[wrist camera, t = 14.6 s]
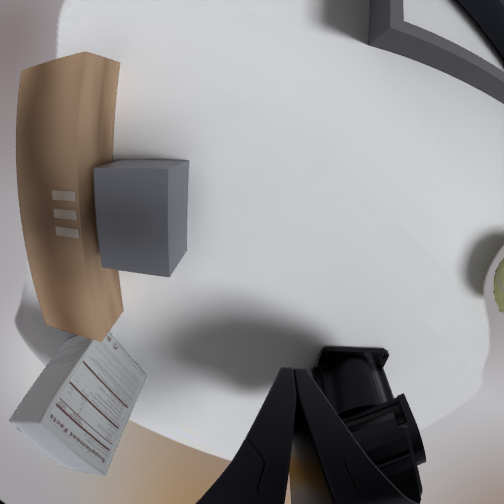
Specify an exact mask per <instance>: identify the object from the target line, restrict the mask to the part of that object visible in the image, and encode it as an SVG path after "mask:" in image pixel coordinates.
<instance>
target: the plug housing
mask: <svg viewBox="0 0 504 504" xmlns="http://www.w3.org/2000/svg"><path fill="white" fill-rule="evenodd" d="M188 173H189V161H186V160H155V159H124V160H120V161H116V162H113V163H109V164H106V165H102V166H99V167H96V168H94V193H95V209H96V222H97V232H98V242H99V250H100V258H101V265H102V268H109V269H115V270H122V271H129V272H135V273H142V274H149V275H157V276H164V277H170V276H171V274H172V273H173V271H174V269H175V268H176V266H177V265H178V263H179V262H180V260H181V259H182V257H183V256H184V254H185V253H186V251H187V202H188Z"/></svg>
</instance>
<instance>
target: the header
mask: <svg viewBox="0 0 504 504" xmlns="http://www.w3.org/2000/svg"><path fill="white" fill-rule="evenodd" d="M119 68H120V62H117V61H114V60H111V59H108V58H105V57H102V56H99V55H96V54H92V53H89V52H82V53H78V54H74V55H70V56H66V57H62V58H59V59H55V60H52V61H49V62H46V63H43V64H39V65H36V66H33V67H31V68H28V69H25V70H22V71H21V77H20V85H19V94H18V106H17V124H16V165H17V184H18V196H19V206H20V214H21V222H22V228H23V234H24V240H25V246H26V251H27V256H28V261H29V266H30V270H31V274H32V279H33V283H34V286H35V290H36V294H37V297H38V301H39V304H40V308H41V311H42V314H43V317H44V321H45V324H46V325H48V326H51V327H54V328H57V329H60V330H63V331H66V332H69V333H72V334H75V335H79V336H82V337H85V338H89V339H92V340H96V341H99V342H102V341H103V339H104V338H105V336H106V335H107V334H108V332H109V331H110V329H111V328H112V326H113V325H114V324H115V322H116V321H117V319H118V318H119V317H120V315H121V314H122V312H123V304H122V297H121V290H120V282H119V274H118V270H115V269H109V268H102V265H101V258H100V250H99V242H98V232H97V222H96V209H95V193H94V168H96V167H99V166H102V165H106V164H109V163H113V136H114V118H115V105H116V94H117V84H118V76H119Z"/></svg>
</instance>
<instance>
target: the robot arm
mask: <svg viewBox="0 0 504 504" xmlns="http://www.w3.org/2000/svg"><path fill="white" fill-rule="evenodd" d="M325 353H327V354H325ZM382 355H383V356H382ZM388 357H389V353H388V351H387V350H377V349H347V348H328V347H327V348H323V349H322V350H321V351H320V354H319V357H318V360H317V363H316V366H315V367H313V368H312V369H311V372H310V374H309V372H308V371H307V369H305V368H294V369H293V368H292V367H281V368H280V370H279V372H278V374H277V376H276V379H275V381H274V383H273V385H272V387H271V389H270V391H269V393H268V395H267V397H266V399H265V401H264V403H263V405H262V407H261V409H260V411H259V413H258V415H257V417H256V419H255V421H254V423H253V425H252V427H251V428H250V430H249V432H248V434H247V436H246V438H245V440H244V441H243V443H242V445H241V447H240V449H239V450H238V452H237V454H236V455H235V457H234V458H233V460H232V461H231V463H230V464H229V466H228V467H227V468H226V469H225V471H224V472H223V473H222V475H221V476H220V477H219V478H218V479H217V480H216V482H215V483H214V484H213V485H212V486H211V487H210V489H209V490H208V491H207V492H206V493H205V494H204V495H203V496H202V498H201V499H200V500H199V501H198V502H197V503H196V504H284V503H285V496H286V489H287V482H288V474H289V475H290V491H291V504H420V501H421V494H422V485H421V480H420V476H419V471H418V468H417V465H420V464H422V463H425V462H426V455H425V451H424V446H423V443H422V439H421V436H420V432H419V429H418V427H417V424H416V421H415V419H414V417H413V414H412V412H411V409H410V407H409V405H408V402H407V400H406V397H405V395H404V393H403V394H401V395H398V396H397V397H396V398H394V397H393V394H392V391H391V388H390V386H389V383H388V380H387V377H386V374H385V372H384V369H383V367H384V365H385V363H386V361H387V359H388ZM0 504H5V503H4V502H3V501H1V500H0Z"/></svg>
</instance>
